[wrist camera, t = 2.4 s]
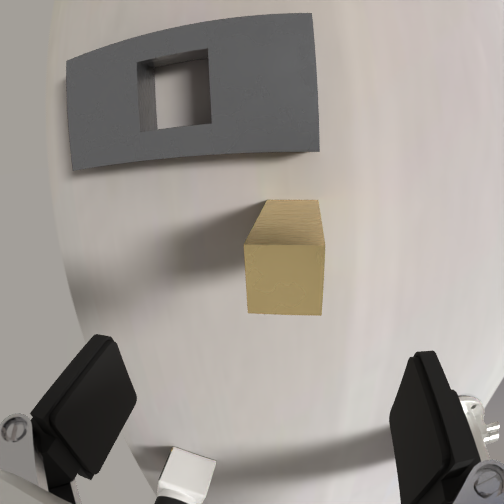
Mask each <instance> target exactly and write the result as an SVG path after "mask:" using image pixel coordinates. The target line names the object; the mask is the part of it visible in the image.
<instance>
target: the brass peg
mask: <svg viewBox="0 0 504 504" xmlns="http://www.w3.org/2000/svg"><path fill="white" fill-rule="evenodd" d="M244 259H245V275H246V291H247V306H248V313H256V314H281V315H320V316H321V314H322V300H323V283H324V263H325V241H324V234H323V227H322V221H321V214H320V208H319V202H318V200H267V201H266V203H265V205H264V207H263V209H262V211H261V213H260V214H259V216H258V218H257V220H256V222H255V224H254V226H253V228H252V230H251V232H250V233H249V235H248V237H247V239H246V241H245V243H244Z"/></svg>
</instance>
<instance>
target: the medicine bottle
mask: <svg viewBox="0 0 504 504" xmlns="http://www.w3.org/2000/svg"><path fill="white" fill-rule="evenodd" d="M215 466H216V461H215V460H212V459H209V458H205V457H202V456H199V455H196V454H193V453H191V452H188V451H185V450H182V449H179V448H177V447H172V449H171V452H170V454H169V456H168V459H167V461H166V463H165V466H164V468H163V471H162V473H161V475H160V478H159V481H158V488H157V495H158V497H157V499H156V501H155V504H202V502H203V501H204V499H205V497H206V495H207V492H208V489H209V485H210V482H211V479H212V475H213V472H214V469H215Z"/></svg>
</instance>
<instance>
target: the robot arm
mask: <svg viewBox="0 0 504 504" xmlns="http://www.w3.org/2000/svg"><path fill="white" fill-rule="evenodd" d="M136 401H137V396H136V393H135V390H134V388H133V385H132V383H131V380H130V378H129V375H128V373H127V370H126V367H125V365H124V362H123V359H122V357H121V354H120V351H119V348H118V345H117V343H116V342H114V340H113V339H112V338H111V337H109V336H104V335H98V334H96V335H94V336H93V337H92V338H91V339H90V340H89V341H88V343H87V344H86V345H85V346H84V347H83V349H82V350H81V351H80V352H79V353H78V354H77V356H76V357H75V358H74V359H73V360H72V362H71V363H70V364H69V365H68V366H67V368H66V369H65V370H64V371H63V373H62V374H61V375H60V376H59V378H58V379H57V380H56V381H55V382H54V384H53V385H52V386H51V387H50V389H49V390H48V391H47V392H46V394H45V395H44V396H43V397H42V399H41V400H40V401H39V402H38V404H37V405H36V406H35V408H34V409H33V410H32V412H31V413H30V414H31V415H32V416H33V418H32V419H31V420H30V419H29V418H28V417H27V416H26V415H24V414H20V413H19V414H13V415H10V416H8V417H7V418H5V419H4V420H3V421H2V422H1V424H0V504H82V503H81V500H80V496H79V492H78V489H77V485H76V481H75V477H76V475H77V473H78V474H79V475H80V476H83V477H85V478H88V479H90V480H91V479H92V478H93V476H94V474H97V473H99V471H100V469H101V467H102V465H103V464H104V462H105V460H106V458H107V456H108V454H109V452H110V450H111V448H112V446H113V445H114V443H115V441H116V439H117V437H118V436H119V433H120V432H121V430H122V428H123V426H124V424H125V423H126V421H127V419H128V417H129V415H130V413H131V412H132V410H133V408H134V406H135V404H136ZM484 414H485V413H484V408H483V405H482V403H481V402H480V401H479V400H478V399H476V398H474V397H470V396H461V397H458V395H457V393H456V391H454V390H451V389H450V386H449V384H448V381H447V379H446V376H445V374H444V371H443V369H442V367H441V364H440V362H439V360H438V357H437V355H436V353H435V352H434V351H423V352H416V353H415V355H414V357H410V358H409V360H408V363H407V366H406V369H405V372H404V375H403V378H402V381H401V384H400V387H399V390H398V393H397V396H396V398H395V401H394V404H393V406H392V409H391V412H390V416H389V422H390V428H391V434H392V440H393V446H394V452H395V459H396V466H397V473H398V481H399V489H400V498H401V504H504V464H503V463H501V462H500V461H497V460H490V457H489V454H488V451H487V448H486V446H485V444H489V443H492V442H496V441H497V440H498V438H499V432H498V429H499V422H494V423H490V424H488V425H486V424H485V423H484V422H483V418H484Z"/></svg>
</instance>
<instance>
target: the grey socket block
mask: <svg viewBox="0 0 504 504" xmlns="http://www.w3.org/2000/svg"><path fill="white" fill-rule="evenodd" d="M205 58H208V60H209V81H210V101H211V119H212V124H201V125H191V126H182V127H174V128H166V129H159V130H157V118H156V101H155V79H154V67H159V66H164V65H169V64H174V63H180V62H185V61H191V60H198V59H205ZM66 82H67V111H68V127H69V139H70V149H71V159H72V167H73V171H74V170H80V169H86V168H93V167H99V166H106V165H113V164H121V163H128V162H137V161H145V160H154V159H164V158H175V157H186V156H199V155H214V154H231V153H255V152H320V149H319V113H318V91H317V72H316V57H315V44H314V31H313V20H312V13H289V14H268V15H255V16H244V17H235V18H227V19H220V20H213V21H206V22H200V23H195V24H189V25H184V26H179V27H175V28H170V29H165V30H161V31H157V32H153V33H149V34H145V35H141V36H138V37H134V38H131V39H127V40H124V41H121V42H117V43H114V44H111V45H108V46H105V47H102V48H99V49H96V50H94V51H91V52H88V53H85V54H83V55H80V56H78V57H75V58H73V59H70V60H68V61H66Z"/></svg>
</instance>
